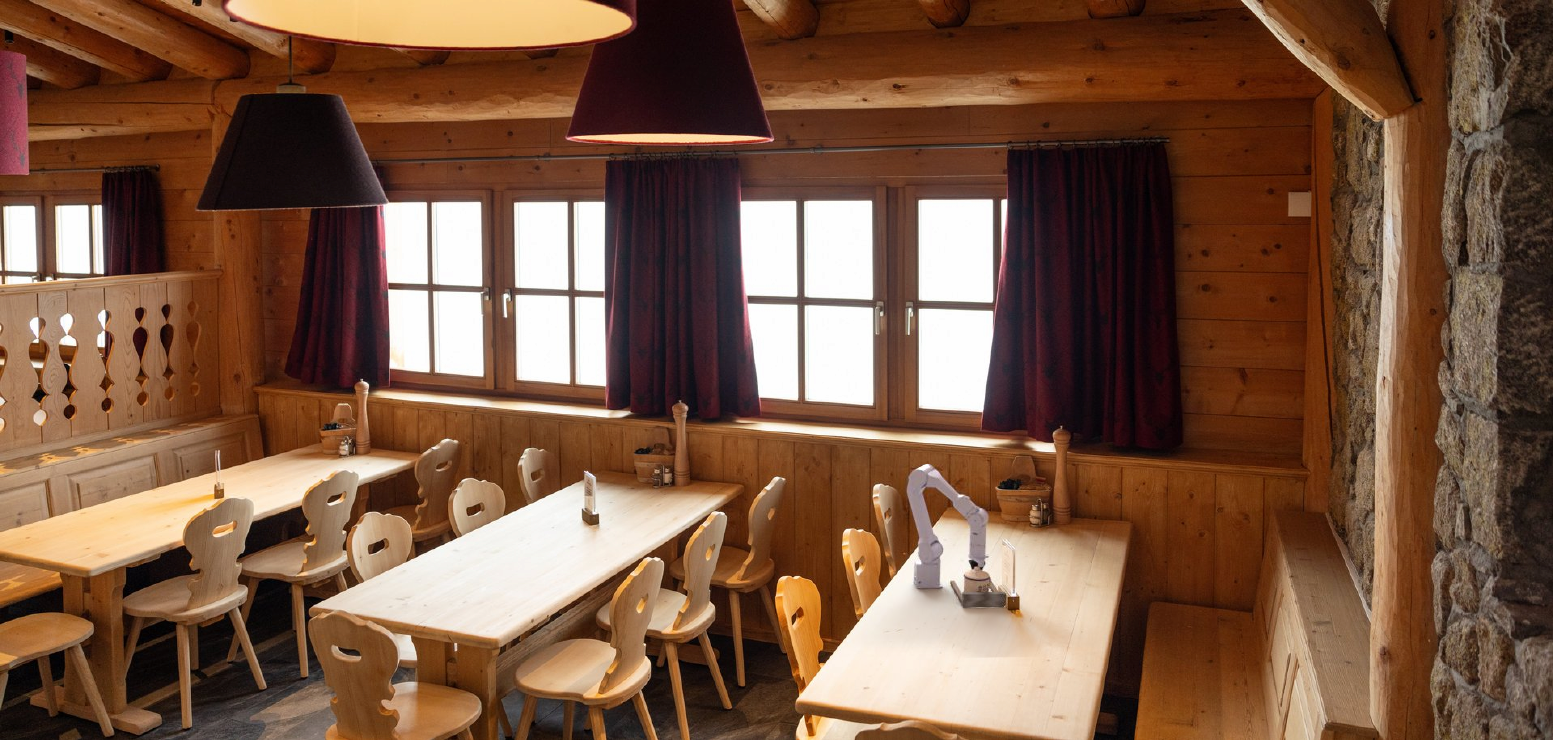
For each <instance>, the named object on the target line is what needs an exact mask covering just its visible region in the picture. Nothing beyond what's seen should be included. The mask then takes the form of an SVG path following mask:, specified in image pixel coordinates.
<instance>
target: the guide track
mask: <svg viewBox="0 0 1553 740" xmlns="http://www.w3.org/2000/svg"><path fill="white" fill-rule="evenodd" d="M950 584H951V585H950ZM949 585H950V586H951V588H952V590H953V592H954V594H955V596H956V598H957V597H958V598H957V599H958V601H959V603H960V605H961V607H962V606H963V607H962V608H963V609H972V608H971V607H1004V606H1005V605H1006V606H1007V595H1006V594H1007V592H1006V591H999V590H998V589H997V587H996V586H995V584H994V583H993V581H992V580H991V584H990V586H989V590H990V589H991V590H990V591H989V592H964V591H962V592H961V589H960V588H959V586H958V585H957V583H956V581H955V580H950V583H949ZM991 591H992V592H991ZM1005 592H1006V593H1005ZM969 607H970V608H969Z"/></svg>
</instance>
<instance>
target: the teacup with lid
mask: <svg viewBox="0 0 1553 740" xmlns="http://www.w3.org/2000/svg"><path fill="white" fill-rule="evenodd" d="M963 577H964V580H963V592H990V591H989V590H990V588H989V586H990V584H991V581H992V578H991V575H990V574H989V572H988V571H984V570H983V569H982V570H980V567H974V569H970V570H966V571H965V572H964V574H963Z"/></svg>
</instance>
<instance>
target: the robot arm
mask: <svg viewBox="0 0 1553 740" xmlns="http://www.w3.org/2000/svg"><path fill="white" fill-rule="evenodd" d="M925 488H936V489H937V490H938V491H939V492H941V493H942V494H943V495H944V496H946V497H947V498H948V499H949V500H950V501H952V505H953V508H954V509H956V510H957V511H958V512H959V513H960V515H962V516H963V517H964V518H965V519H966V520H967V525H968V526H969V550H968V558H969V560H968V563H969V565H970V568H971V569H970V570H972V569H974V567H980V570H982V571H983V570H984V568H985V566H986V563H987V562H986V558H987V559H989V557H990V556H989V554H987V553H986V551H987V549H986V547H987V523H988V522H989V518H990V515H989V514H988V512H987V511H986V509H985V508H981V507H980V506H979V505H978V506H977V505H976V504H975V503H974V502H973V501H972V500H971V499H970V496H968V495H967V496H966V494H959V492H957V490H955V489H954V487H952V485H950V484H949V483H948V481H947V480H946V479H945V478H944V477H943V476H942V475H941V473H940V471H938V470H937V469H935V467H934V466H933V465H931V464H930V463H929V464H928V463H927V464H923V465H922V466H920V467H918V468H916V469H913V470H912V471H911V472H910V474H909V475H908V483H907V486H906V494H907V498H908V501H909V505H910V509H911V512H912V515H913V519H914V522H915V527H916V529H917V533H918V536H919V537H918V538H919V539H918V542H917V546H918V547H917V548H918V552H917V553H918V554H917V555H918V558H919V560H917V561H914V563H913V565H914V566H913V583H914V586H915V587H916V588H917V589H933V588H934V589H942V588H943V584H942V583H941V556H942V555H943V554H944V546H943V544H942V543H941V542H940V540H939V537H938V536H937V535H936V534H935V533H934V529H933V526H932V523H931V520H930V516H929V512H928V508H927V505H926V502H925V501H926V500H925V499H924V494H923V492H924V490H925Z"/></svg>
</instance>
